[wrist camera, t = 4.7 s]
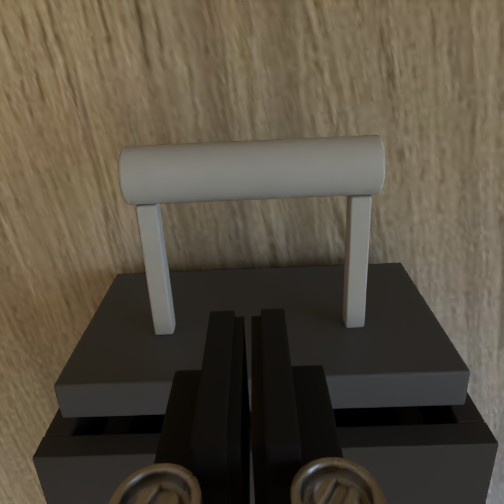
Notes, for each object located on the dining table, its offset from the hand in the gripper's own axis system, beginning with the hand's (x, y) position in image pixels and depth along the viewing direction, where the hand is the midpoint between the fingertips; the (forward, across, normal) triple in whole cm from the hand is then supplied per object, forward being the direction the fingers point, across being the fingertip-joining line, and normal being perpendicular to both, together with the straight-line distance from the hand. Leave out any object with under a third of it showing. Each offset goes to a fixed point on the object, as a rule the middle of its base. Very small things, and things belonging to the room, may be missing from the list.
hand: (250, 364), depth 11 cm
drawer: (+8, 0, +5) cm, 10 cm away
